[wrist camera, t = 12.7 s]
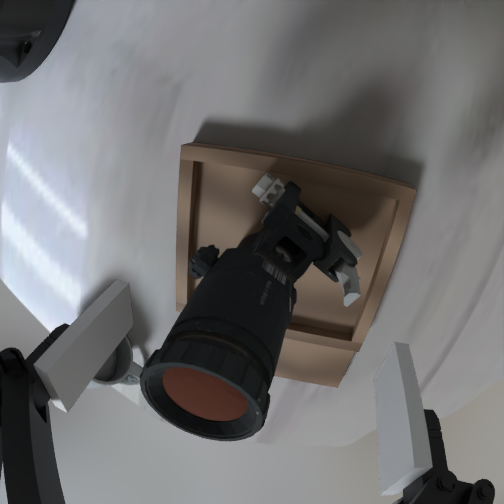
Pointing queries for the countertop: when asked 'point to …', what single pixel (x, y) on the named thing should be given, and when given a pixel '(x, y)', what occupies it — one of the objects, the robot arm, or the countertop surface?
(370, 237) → the wooden tray
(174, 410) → the scope
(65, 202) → the countertop surface
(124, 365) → the ceramic mug
